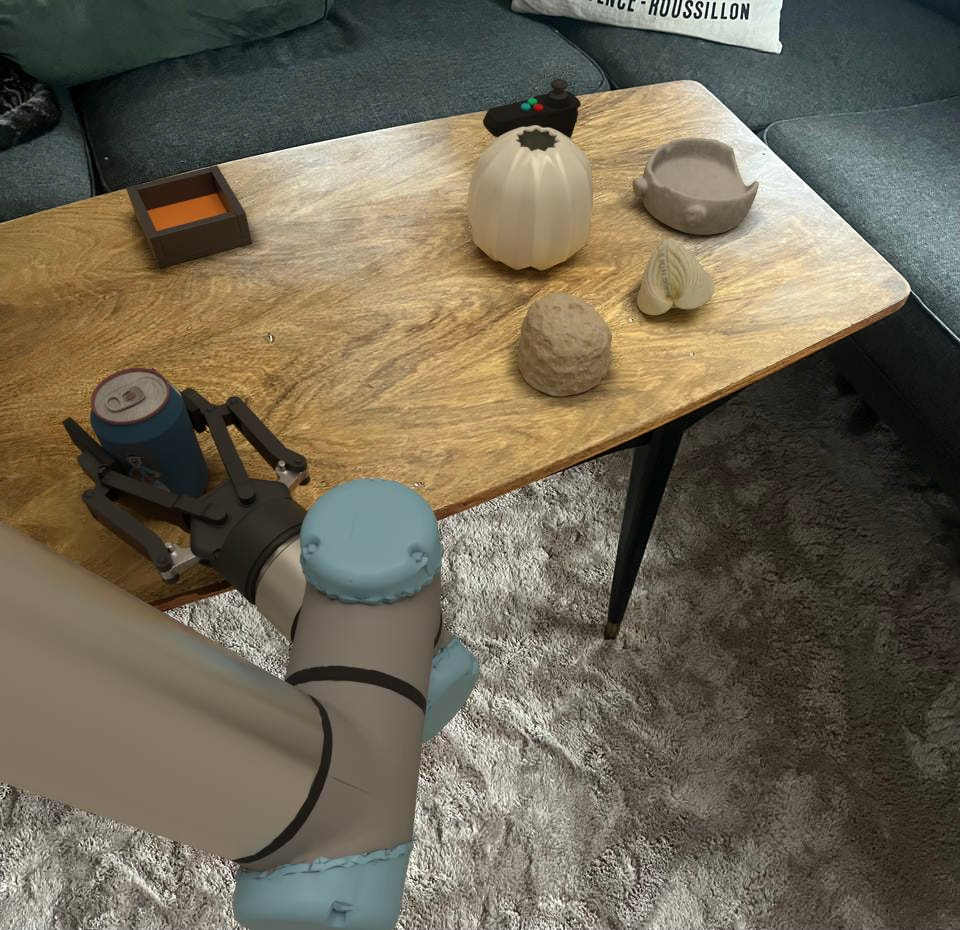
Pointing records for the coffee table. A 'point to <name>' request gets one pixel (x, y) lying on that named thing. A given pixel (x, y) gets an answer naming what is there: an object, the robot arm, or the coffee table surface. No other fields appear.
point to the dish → (695, 186)
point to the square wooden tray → (189, 216)
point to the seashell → (673, 280)
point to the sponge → (563, 345)
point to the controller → (537, 112)
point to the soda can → (149, 431)
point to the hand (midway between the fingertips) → (114, 405)
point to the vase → (531, 198)
